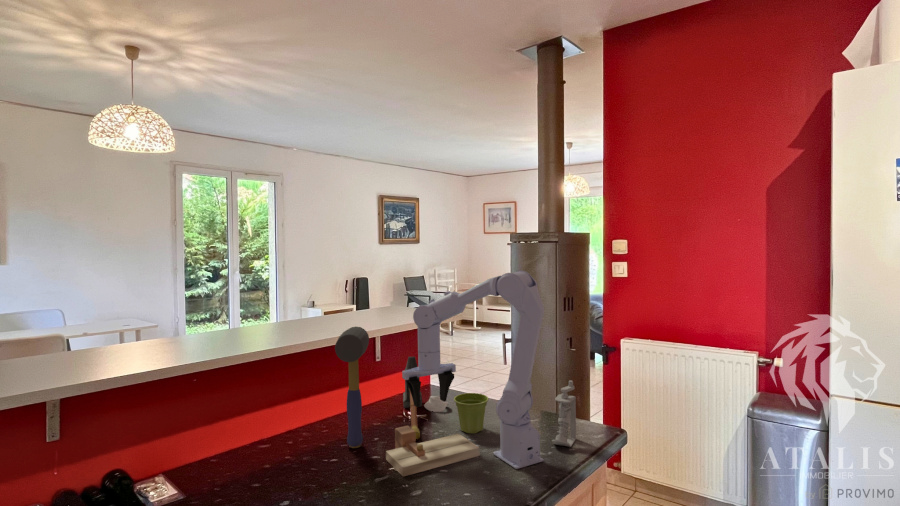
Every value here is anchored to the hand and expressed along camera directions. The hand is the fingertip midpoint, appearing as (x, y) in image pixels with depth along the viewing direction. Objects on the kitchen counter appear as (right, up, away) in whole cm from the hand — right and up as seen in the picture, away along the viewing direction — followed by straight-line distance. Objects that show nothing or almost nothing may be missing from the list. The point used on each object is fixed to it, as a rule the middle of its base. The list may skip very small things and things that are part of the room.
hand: (430, 403), depth 126 cm
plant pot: (+11, -10, +7) cm, 17 cm away
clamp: (+34, -10, -3) cm, 35 cm away
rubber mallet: (-19, -11, -2) cm, 22 cm away
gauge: (-4, -10, -8) cm, 14 cm away
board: (+1, -10, -10) cm, 14 cm away
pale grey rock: (+1, -10, +25) cm, 27 cm away
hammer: (-5, -10, +16) cm, 20 cm away
